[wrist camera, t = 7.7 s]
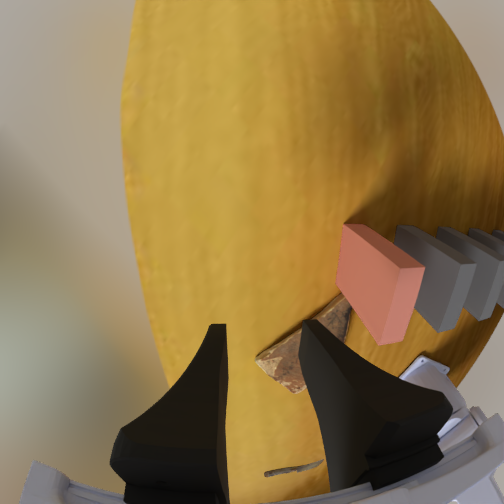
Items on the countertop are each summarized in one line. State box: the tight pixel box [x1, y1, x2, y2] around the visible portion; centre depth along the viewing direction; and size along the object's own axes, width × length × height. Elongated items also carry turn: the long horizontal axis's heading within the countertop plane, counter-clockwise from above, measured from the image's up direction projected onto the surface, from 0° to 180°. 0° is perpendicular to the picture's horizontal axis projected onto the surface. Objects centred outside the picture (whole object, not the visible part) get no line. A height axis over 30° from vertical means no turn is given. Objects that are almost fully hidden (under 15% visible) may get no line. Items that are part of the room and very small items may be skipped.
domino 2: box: [436, 227, 504, 321], centre depth 18 cm, size 2×5×8 cm, turn 179°
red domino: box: [335, 224, 425, 345], centre depth 17 cm, size 2×5×8 cm, turn 179°
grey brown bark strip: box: [264, 459, 324, 477], centre depth 35 cm, size 12×1×5 cm
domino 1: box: [394, 225, 477, 333], centre depth 18 cm, size 2×5×8 cm, turn 179°
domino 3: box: [468, 228, 504, 308], centre depth 19 cm, size 2×5×8 cm, turn 179°
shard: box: [255, 293, 352, 394], centre depth 24 cm, size 11×8×2 cm
